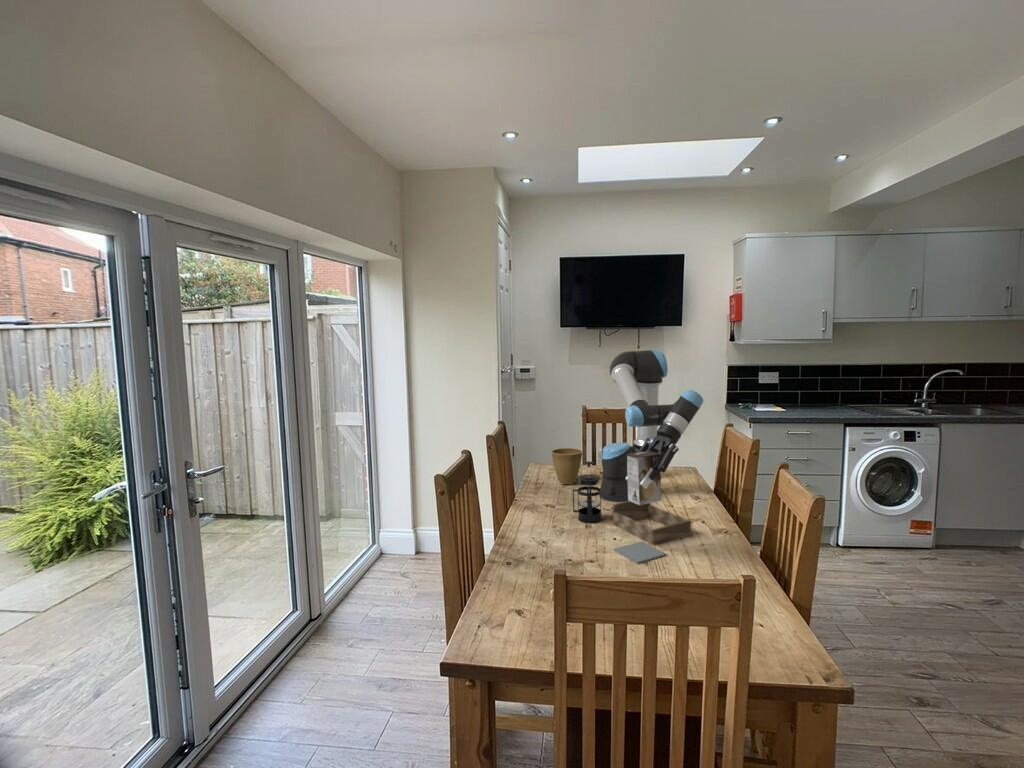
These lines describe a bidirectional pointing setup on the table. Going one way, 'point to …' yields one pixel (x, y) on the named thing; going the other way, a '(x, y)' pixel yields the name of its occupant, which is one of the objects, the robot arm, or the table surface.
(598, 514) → the french press
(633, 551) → the slate mat
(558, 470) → the plant pot
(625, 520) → the wooden tray
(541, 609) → the table surface
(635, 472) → the coffee box
